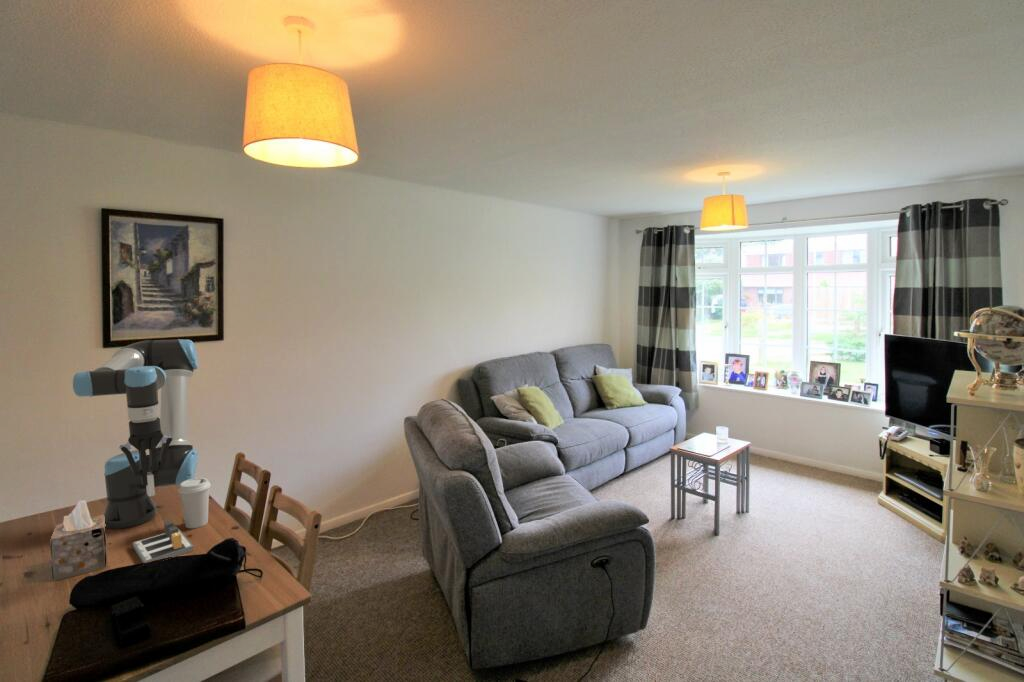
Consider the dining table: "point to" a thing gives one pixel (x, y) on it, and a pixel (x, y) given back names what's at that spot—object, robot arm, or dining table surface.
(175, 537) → the toggle
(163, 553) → the panel
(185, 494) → the coffee cup
